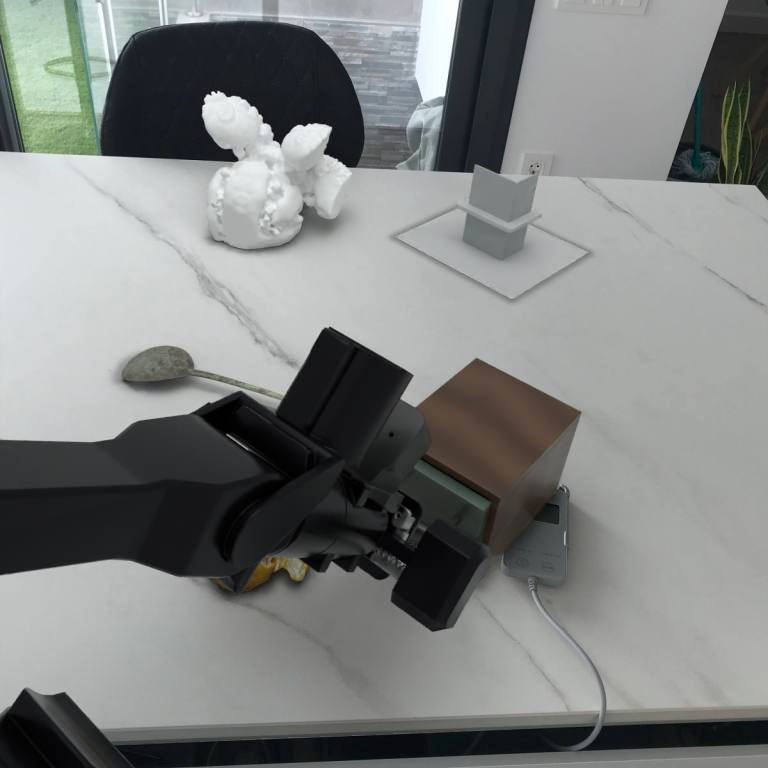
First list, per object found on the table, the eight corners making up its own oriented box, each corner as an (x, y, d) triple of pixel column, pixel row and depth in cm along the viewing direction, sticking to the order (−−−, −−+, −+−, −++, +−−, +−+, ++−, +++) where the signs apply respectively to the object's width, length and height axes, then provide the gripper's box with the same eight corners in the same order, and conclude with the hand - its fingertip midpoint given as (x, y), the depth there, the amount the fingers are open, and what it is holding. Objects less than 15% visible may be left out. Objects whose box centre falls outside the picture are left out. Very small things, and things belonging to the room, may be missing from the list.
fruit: (320, 574, 65) (321, 546, 63) (230, 619, 61) (227, 592, 59) (273, 509, 70) (272, 482, 68) (186, 547, 66) (183, 519, 64)
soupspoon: (146, 352, 87) (112, 388, 83) (140, 328, 85) (105, 364, 80) (327, 399, 82) (302, 440, 78) (326, 374, 80) (300, 416, 75)
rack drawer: (439, 611, 62) (454, 541, 57) (346, 545, 67) (351, 474, 61) (540, 497, 73) (561, 429, 67) (453, 446, 77) (466, 378, 71)
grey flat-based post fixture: (476, 199, 122) (488, 127, 114) (588, 252, 112) (610, 177, 104) (395, 237, 111) (402, 160, 103) (511, 299, 100) (529, 219, 93)
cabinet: (479, 582, 66) (500, 498, 59) (377, 514, 71) (387, 429, 64) (555, 493, 75) (582, 411, 68) (460, 438, 79) (476, 357, 73)
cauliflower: (156, 189, 97) (219, 65, 102) (201, 264, 115) (252, 156, 121) (295, 229, 93) (352, 99, 99) (318, 300, 112) (365, 187, 118)
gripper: (502, 468, 42) (556, 493, 56) (259, 327, 50) (358, 379, 64) (401, 646, 42) (480, 627, 56) (174, 476, 50) (292, 496, 64)
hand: (399, 523), depth 60 cm, fingers closed, pressing on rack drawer
